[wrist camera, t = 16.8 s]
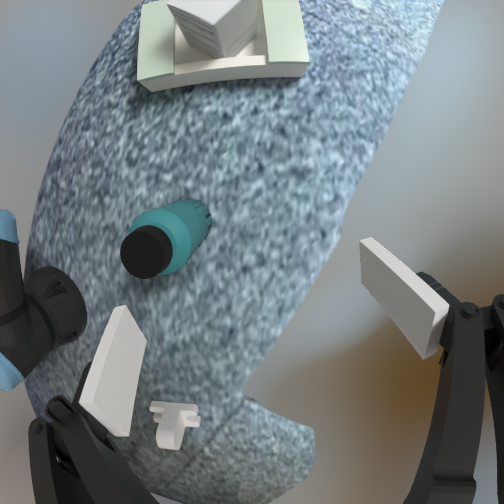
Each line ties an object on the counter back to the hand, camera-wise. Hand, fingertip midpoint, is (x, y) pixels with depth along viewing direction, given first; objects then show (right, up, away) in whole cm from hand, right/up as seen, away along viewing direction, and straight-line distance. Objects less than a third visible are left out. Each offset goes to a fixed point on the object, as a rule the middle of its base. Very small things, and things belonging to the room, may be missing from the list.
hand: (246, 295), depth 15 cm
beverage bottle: (-8, +7, +25) cm, 27 cm away
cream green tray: (-4, +33, +18) cm, 38 cm away
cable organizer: (-15, -30, +35) cm, 49 cm away
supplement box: (-4, +33, +17) cm, 38 cm away
